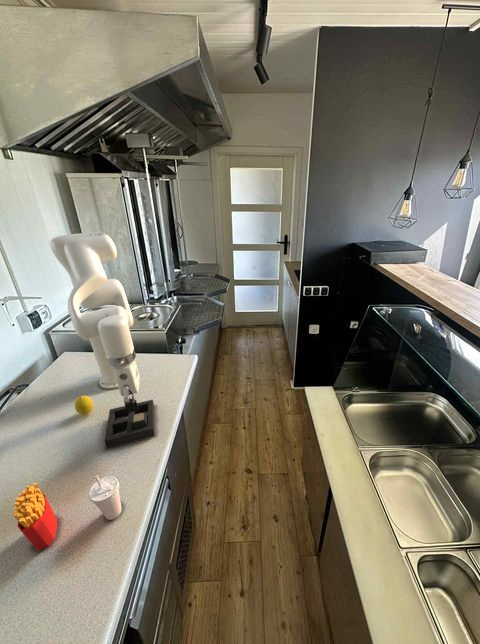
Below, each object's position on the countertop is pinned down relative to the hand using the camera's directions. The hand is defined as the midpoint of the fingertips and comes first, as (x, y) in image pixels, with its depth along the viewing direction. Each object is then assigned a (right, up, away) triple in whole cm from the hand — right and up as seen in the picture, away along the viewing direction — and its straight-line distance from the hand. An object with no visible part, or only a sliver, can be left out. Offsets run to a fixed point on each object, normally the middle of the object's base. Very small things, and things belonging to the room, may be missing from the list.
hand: (133, 400), depth 91 cm
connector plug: (+1, -12, +5) cm, 13 cm away
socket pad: (-4, -11, +7) cm, 13 cm away
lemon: (-23, -9, +13) cm, 27 cm away
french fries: (-11, -25, -22) cm, 36 cm away
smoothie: (+3, -23, -18) cm, 30 cm away
